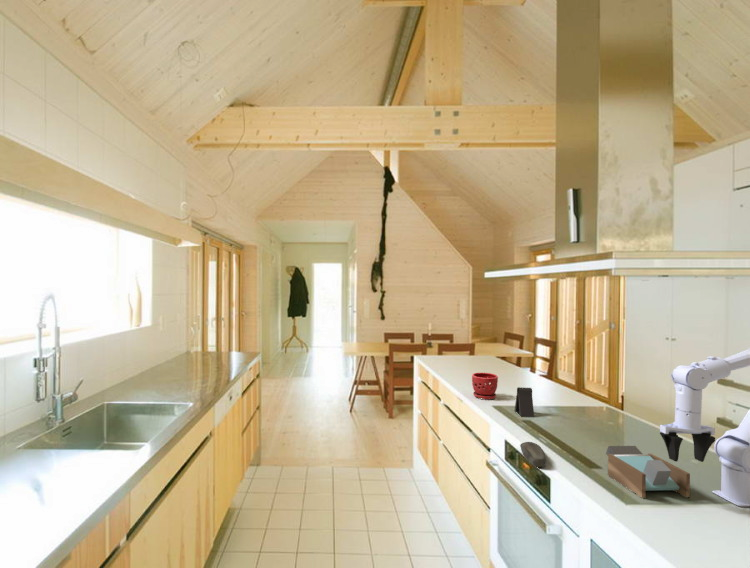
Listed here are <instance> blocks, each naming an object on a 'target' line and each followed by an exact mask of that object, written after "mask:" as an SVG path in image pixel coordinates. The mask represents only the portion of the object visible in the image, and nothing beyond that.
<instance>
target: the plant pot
mask: <svg viewBox="0 0 750 568" xmlns="http://www.w3.org/2000/svg"><path fill="white" fill-rule="evenodd" d="M498 378H499V377H498V375H496V374H495V373H491V372H490V373H489V372H475V373H472V375H471V382H472V388H473V392H472V393H473V396H474V397H476V398H477V397H478V398H477V399H480V398H482V399H481V400H494V399H495V398H496V396H497V394H496V392H497V388H498V382H499V381H498V380H499V379H498Z"/></svg>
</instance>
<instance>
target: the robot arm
mask: <svg viewBox="0 0 750 568" xmlns="http://www.w3.org/2000/svg"><path fill="white" fill-rule="evenodd" d="M706 358H707V359H703V360H702V361H701V360H700V361H698V362H697V361H694V362H691V364H690V365H685V364H683V365H682V364H680V365H678V366H676V367H675V368H674V369H673V370H672V372H671V373H670V378H671V381H672V382H673V383H674V384H673V385H674V389H675V403H674V421H673V422H671V423H668V424H667V423H666V424H660V425H659V435H660V436H661V438H662V439H663V442H664V444H665V447H666V450H667V454H668V458H669V460H671V461H674V462H678V460H679V455H680V448H681V444H682V443H683V440H684V438H683V437H680V436H679V435H678V434H684V435H685V434H688V435H689V434H690V435H691V438H692V441H693V457H694V460H696V461H699V462H701V463H704V461H705V458H706V456H707V453H708V451H709V449H710V447H711V446H712V445H713V450H714V454H715V455H716V456H718V461H719V462H721V469H720V470H721V471H720V472H721V473H720V489H721V490H720V489H719V490H715V489H714V490H712V494H715V495H717V496H719V497H721V498H722V499H724V500H726V501H728V502H730V503H731V504H734V505H735V506H737V507H741V508H742V507H750V408H749V410H748V411H747V413H746V414H745V415H744V417H743V419H742V421H741V422H740V424H739V425H738V427H736V428H732V429H729V430H725V432H724V434H723V435H722V436H720V437H718V438H717V439H716V437H715V436H716V435H715V433H716V427H713V426H710V425H702V409H703V407H702V405H703V404H702V403H703V401H702V400H703V390H705V389H706V388H707V387H708V385H709V384H710V383H712V382H716V381H718V380H722V379H725V378H728V377H730V375H731V373H732V371H736V370H739V369H743V368H746V367H747V368H749V367H750V347H748V349H745V350H742V351H741V352H738V353H734V354H732V355H729V356H727V357H725V358H722V357H718V356H713V355H710V356H707V357H706Z"/></svg>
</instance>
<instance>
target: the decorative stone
mask: <svg viewBox="0 0 750 568" xmlns="http://www.w3.org/2000/svg"><path fill="white" fill-rule="evenodd" d="M519 446H520V451H521V454H522V455H523V457H524V458H525V460H526V461H527V462H528V463H529V464H530V465H532V466H534V467H536V468H543V467H546V463H547V462H546V461H547V460H546V454H545V451H544V449H543V448H542V447H541V446H540V445H539V444H537V443H536V442H532V441H525V442H522V443H520V444H519Z"/></svg>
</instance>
